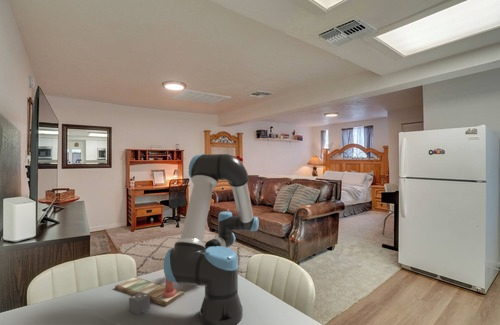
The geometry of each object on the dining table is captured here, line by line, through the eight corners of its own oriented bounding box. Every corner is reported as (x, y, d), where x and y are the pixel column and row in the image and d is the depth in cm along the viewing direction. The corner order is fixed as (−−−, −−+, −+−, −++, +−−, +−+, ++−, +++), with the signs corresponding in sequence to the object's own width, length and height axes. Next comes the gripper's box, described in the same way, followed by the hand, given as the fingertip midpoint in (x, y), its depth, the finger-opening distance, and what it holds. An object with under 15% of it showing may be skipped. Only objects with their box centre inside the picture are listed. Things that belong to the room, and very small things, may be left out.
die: (149, 308, 94) (149, 294, 95) (138, 315, 90) (138, 301, 90) (140, 304, 97) (140, 291, 97) (129, 311, 92) (129, 297, 92)
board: (184, 294, 104) (184, 291, 104) (165, 306, 95) (165, 302, 95) (135, 279, 118) (135, 276, 118) (115, 288, 109) (115, 285, 109)
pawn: (178, 293, 102) (178, 263, 102) (169, 299, 98) (169, 267, 98) (169, 290, 105) (169, 261, 105) (160, 296, 100) (160, 265, 100)
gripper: (235, 257, 124) (209, 275, 105) (195, 249, 135) (166, 264, 116) (235, 242, 124) (209, 257, 105) (195, 235, 135) (165, 247, 116)
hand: (186, 260), depth 111 cm, fingers open, 13 cm apart
